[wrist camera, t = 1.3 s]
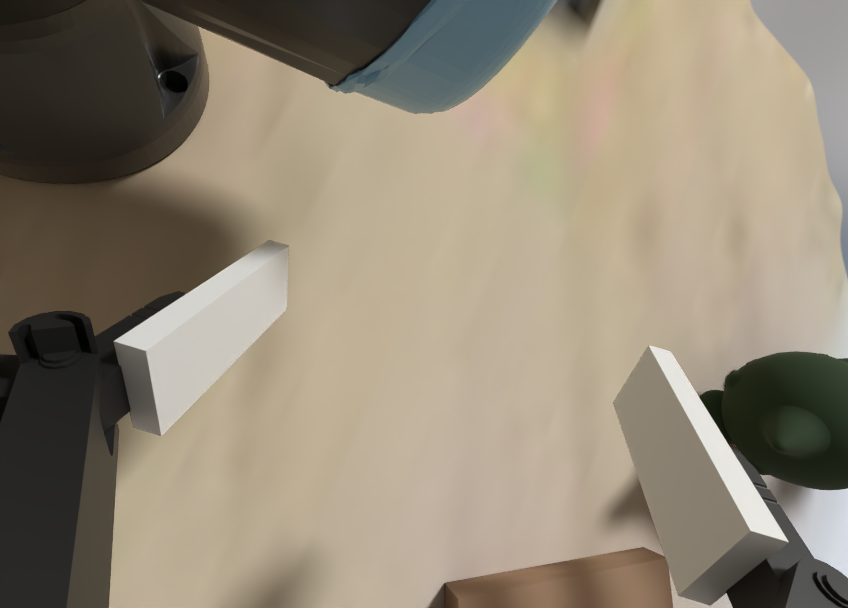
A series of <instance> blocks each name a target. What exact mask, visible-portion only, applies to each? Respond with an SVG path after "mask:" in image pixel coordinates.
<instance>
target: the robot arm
mask: <svg viewBox="0 0 848 608" xmlns="http://www.w3.org/2000/svg"><path fill="white" fill-rule="evenodd" d="M556 2H557V0H0V174H1V175H5V176H8V177H13V178H18V179H22V180H29V181H35V182H45V183H87V182H95V181H102V180H107V179H112V178H116V177H120V176H124V175H127V174H130V173H133V172H136V171H138V170H141V169H143V168H145V167H148V166H150V165H152V164H154V163H155V162H157V161H159V160H161V159H162V158H164V157H165V156H167V155H168V154H170V153H171V152H172V151H174V150H175V149H176V148H177V147H178V146H179V145H180V144H182V143H183V142H184V141H185V139H186V138H187V137H188V136H189V135H190V134H191V132H192V131H193V130H194V128H195V127H196V125H197V123H198V122H199V120H200V118H201V116H202V114H203V111H204V108H205V106H206V102H207V98H208V92H209V72H208V65H207V60H206V56H205V52H204V47H203V43H202V39H201V35H200V32H199V28H198V26H199V27H201V28H204V29H206V30H208V31H210V32H213V33H215V34H217V35H220V36H222V37H224V38H227V39H229V40H231V41H233V42H236V43H238V44H240V45H243V46H245V47H247V48H250V49H252V50H254V51H256V52H259V53H261V54H263V55H266V56H268V57H270V58H273V59H275V60H277V61H279V62H282V63H284V64H286V65H289V66H291V67H293V68H296V69H298V70H300V71H302V72H305V73H307V74H309V75H312V76H314V77H316V78H319V79H321V80H323V81H324V82H325V83H326V85H327V86H328V87H329V88H330V89H332V90H334V91H336V92H338V91H342V92H343V93H352V92H357V93H359V94H362V95H365V96H367V97H370V98H373V99H375V100H378V101H381V102H383V103H386V104H389V105H391V106H394V107H397V108H399V109H402V110H405V111H407V112H410V113H415V114H417V113H430V114H432V113H434V112H443V111H446V110H449V109H451V108H453V107H455V106H457V105H459V104H460V103H462V102H464V101H465V100H467V99H468V98H470V97H471V96H473V95H474V94H475V93H476V92H478V91H479V90H480V89H481V88H483V87H484V86H485V85H486V84H487V83H488V82H489V81H490V80H491V79H492V78H493V77H494V76H495V75H496V74H497V73H498V72H499V71H500V70H501V69H502V68H503V67H504V66H505V65H506V64H507V63H508V62H509V61H510V60H511V58H512V57H513V56H514V55H515V54H516V53H517V52H518V50H519V49H520V48H521V47H522V46H523V44H524V43H525V42H526V41H527V40H528V38H529V37H530V36H531V35H532V33H533V32H534V31H535V30H536V28H537V27H538V26H539V24H540V23H541V22H542V20H543V19H544V18H545V16H546V15H547V14H548V12H549V11H550V10H551V8H552V7H553V6H554V4H555V3H556ZM288 262H289V245H285V244H282V243H278V242H274V241H271V240H269V241H267V242H266V243H264V244H262V245H261V246H259V247H258V248H256V249H255V250H253V251H252V252H250V253H249V254H247V255H246V256H244V257H242V258H241V259H239V260H238V261H236V262H235V263H233V264H232V265H230V266H229V267H227V268H225V269H224V270H222V271H221V272H219V273H218V274H216V275H215V276H213V277H212V278H210V279H209V280H207V281H205V282H204V283H202V284H201V285H199V286H198V287H196V288H195V289H193V290H192V291H190V292H189V293H183V292H180V291H178V292H174V293H171V294H168V295H165V296H162V297H159V298H157V299H156V300H154V301H152V302H151V303H149V304H147V305H146V306H145V307H144V309H143V308H141V309H139V310H138V311H136V312H134V313H133V314H132V316H128V317H126V318H124V319H123V320H121V321H119V322H118V323H116V324H115V325H113V326H111V327H110V328H108V329H106V330H105V331H103V332H101V333H100V334H98V335H96V336H94V333H93V329H92V325H91V321H90V318H88V317H87V316H85V315H84V314H82V313H77V312H72V311H54V312H48V313H42V314H38V315H35V316H32V317H29V318H26V319H24V320H22V321H21V322H19V323H17V324H15V325H14V326H13V327H12V328H11V330H10V331H9V332H8V333H9V336H10V338H11V341H12V343H13V346H14V349H15V351H16V354H17V355H1V354H0V608H109V593H110V576H111V558H112V541H113V524H114V507H115V490H116V473H117V456H118V439H119V429H118V425H117V422H118V421H119V420H120V419H121V418H122V417H123V416H125V415H126V414H127V413H128V412H129V411H130V415H131V419H132V424H133V427H134V428H137V429H140V430H143V431H146V432H150V433H153V434H156V435H159V436H162V435H163V434H164V433H165V432H166V431H167V430H168V429H169V428H170V427H171V426H172V425H173V424H174V423H175V422H176V421H177V420H178V419H179V418H180V417H181V416H182V415H183V414H184V413H185V412H186V411H187V410H188V409H189V408H190V407H191V406H192V405H193V403H194V402H195V401H196V400H197V399H198V398H199V397H200V396H201V395H202V394H203V393H204V392H205V391H206V390H207V389H208V388H209V387H210V386H211V385H212V384H213V383H214V382H215V381H216V380H217V379H218V378H219V377H220V376H221V375H222V374H223V373H224V372H225V371H226V370H227V369H228V368H229V367H230V366H231V365H232V364H233V363H234V362H235V361H236V360H237V359H238V358H239V357H240V356H241V355H242V354H243V353H244V352H245V351H246V350H247V349H248V348H249V347H250V346H251V345H252V344H253V343H254V342H255V341H256V340H257V339H258V338H259V337H260V335H261V334H262V333H263V332H264V331H265V330H266V329H267V328H268V327H269V326H270V325H271V324H272V323H273V322H274V321H275V320H276V319H277V318H278V317H279V316H280V315H281V314H282V313H283V312H284V311H285V310H286V309H287V286H288ZM613 404H614V407H615V410H616V413H617V416H618V419H619V422H620V425H621V428H622V431H623V434H624V437H625V440H626V443H627V446H628V449H629V452H630V455H631V458H632V461H633V464H634V466H635V469H636V472H637V475H638V478H639V481H640V484H641V487H642V490H643V493H644V496H645V499H646V502H647V505H648V508H649V511H650V514H651V517H652V520H653V523H654V526H655V529H656V532H657V535H658V538H659V540H660V543H661V546H662V549H663V552H664V555H665V558H666V561H667V564H668V567H669V570H670V573H671V576H672V579H673V582H674V585H675V588H676V591H677V594H678V596H681V597H684V598H688V599H691V600H694V601H697V602H701V603H704V604H707V605H710V606H711V605H712V604H713V603H714V602H716V601H717V600H718V599H719V598H720V597H722V596H723V595H724V594H725V593H727V595H728V597H729V600H730V602H731V604H732V606H733V608H848V578H847V577H846V576H844V575H843V574H842V573H841V572H839V571H838V570H836V569H835V568H833V567H831V566H830V565H828V564H827V563H825V562H822V561H820V560H817V559H814V557H813V556H812V554H811V553H810V551H809V550H808V548H807V546H806V545H805V543H804V542H803V540H802V539H801V537H800V536H799V534H798V533H797V531H796V530H795V528H794V527H793V525H792V523H791V522H790V520H789V519H788V517H787V516H786V514H785V513H784V511H783V510H782V508H781V507H780V505H778V504H776V502H777V501H776V499H775V497H774V496H773V494H772V493H771V491H770V490H768V489H767V485H766V484H765V482H764V481H763V479H762V478H761V476H760V474H759V473H758V471H757V470H756V468H755V467H754V466H753V465H752V464H751V463H750V462H749V461H748V460H747V459H746V458H745V457H744V456H743V455H742V454H741V453H740V452H739V451H736V450H733V449H731V448H730V446H729V445H728V443H727V441H726V440H725V438H724V437H723V435H722V433H721V432H720V430H719V429H718V427H717V425H716V424H715V422H714V420H713V419H712V417H711V416H710V414H709V412H708V411H707V409H706V408H705V406H704V404H703V403H702V401H701V400H700V398H699V396H698V395H697V393H696V391H695V390H694V388H693V387H692V385H691V383H690V382H689V380H688V379H687V377H686V375H685V374H684V372H683V371H682V369H681V367H680V366H679V364H678V362H677V361H676V359H675V358H674V356H673V354H672V353H671V351H667V350H664V349H660V348H656V347H653V346H649V345H648V347H647V349H646V350H645V352H644V354H643V355H642V357H641V358H640V360H639V362H638V363H637V365H636V366H635V368H634V370H633V371H632V373H631V374H630V376H629V378H628V379H627V381H626V382H625V384H624V386H623V387H622V389H621V390H620V392H619V394H618V395H617V397H616V398H615V400H614V402H613Z"/></svg>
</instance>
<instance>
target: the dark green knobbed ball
mask: <svg viewBox="0 0 848 608" xmlns="http://www.w3.org/2000/svg"><path fill="white" fill-rule="evenodd" d="M699 398H700V400H701V401H702V403H703V404H704V406H705V408H706V409H707V411H708V412H709V414H710V416H711V417H712V419H713V420H714V422H715V424H716V425H717V427H718V429H719V430H720V432H721V433H722V435H723V437H724V438H725V440H726V441H727V443H728V444H732V443H734V444H735V445H736V447H737V448H738V449H739V450H740V452H741V453H742V454H743V455H744V456H745V457H746V459H747V460H748V461H749V462H750V463H751V464H752V465H753V466H754V467H755V468H756V470H757V471H758V473H759V474H761V475H771V476H774V477H776V478H778V479H781V480H784V481H786V482H789V483H793V484H796V485H800V486H804V487H808V488H813V489H819V490H840V489H847V488H848V358H844V359H836V358H833V357H830V356H828V355H825V354H816V353H810V352H783V353H776V354H773V355H769V356H765V357H762V358H759V359H755V360H753V361H751V362H748V363H746V365H745V366H743V367H741V368H740V369H739V370H738V371H736V372H732V373H730V374H729V375H728V376H727V377H726V388H725V390H724V391H720V390H710V391H707V392H705V393H703V394H702V395H701V396H700V397H699Z"/></svg>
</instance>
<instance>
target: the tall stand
mask: <svg viewBox="0 0 848 608" xmlns="http://www.w3.org/2000/svg"><path fill="white" fill-rule="evenodd" d="M445 608H673V603H672V594H671V585H670V576H669V567H668V564H667V561H666V558H665V557H664V556H662V555H660V554H657V553H655V552H653V551H651V550H648V549H646V548H644V547H642V548H636V549H631V550H625V551H620V552H614V553H609V554H603V555H597V556H592V557H586V558H581V559H575V560H570V561H564V562H558V563H553V564H547V565H542V566H536V567H531V568H525V569H519V570H514V571H508V572H503V573H497V574H492V575H486V576H481V577H475V578H469V579H464V580H458V581H453V582H447V583H445Z"/></svg>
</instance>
